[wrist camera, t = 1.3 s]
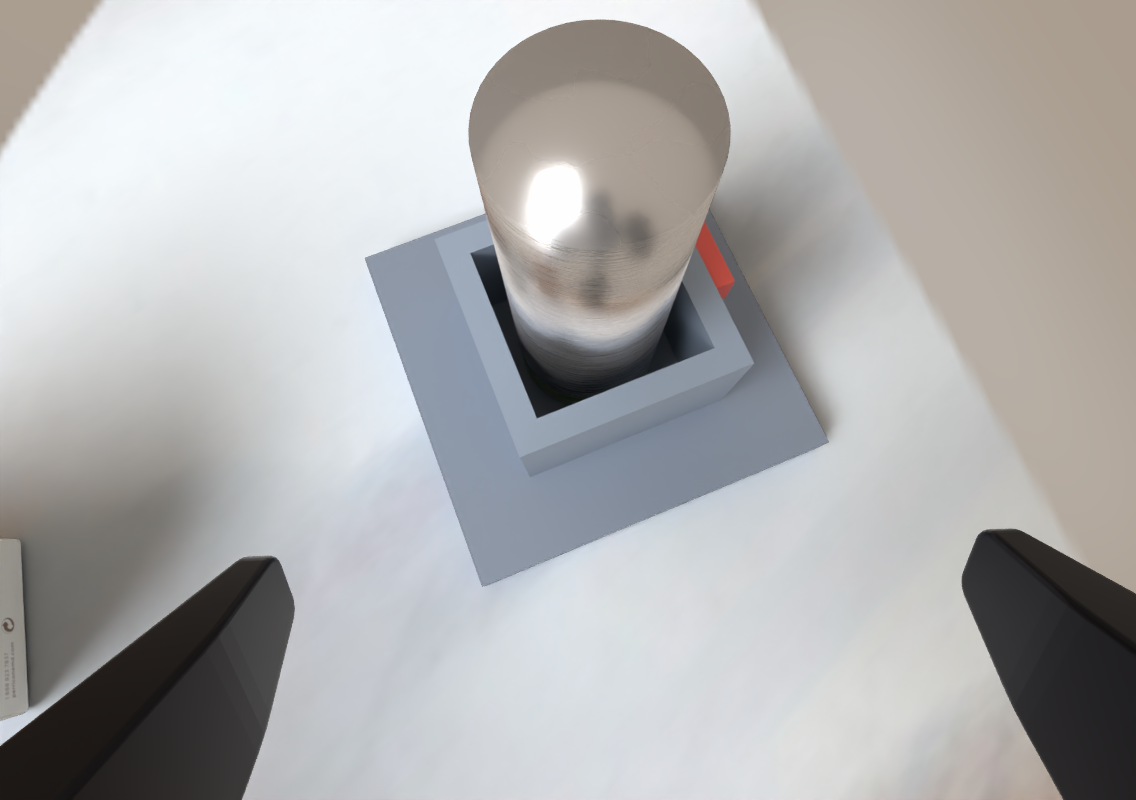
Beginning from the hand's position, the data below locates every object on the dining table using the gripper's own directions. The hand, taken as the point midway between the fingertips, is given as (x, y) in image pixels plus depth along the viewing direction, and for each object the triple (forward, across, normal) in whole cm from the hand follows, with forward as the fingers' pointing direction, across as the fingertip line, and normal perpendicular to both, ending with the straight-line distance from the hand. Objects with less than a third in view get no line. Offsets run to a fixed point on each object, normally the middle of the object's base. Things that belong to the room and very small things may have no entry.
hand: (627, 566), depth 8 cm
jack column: (+13, 0, +3) cm, 14 cm away
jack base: (+14, 0, +4) cm, 15 cm away
